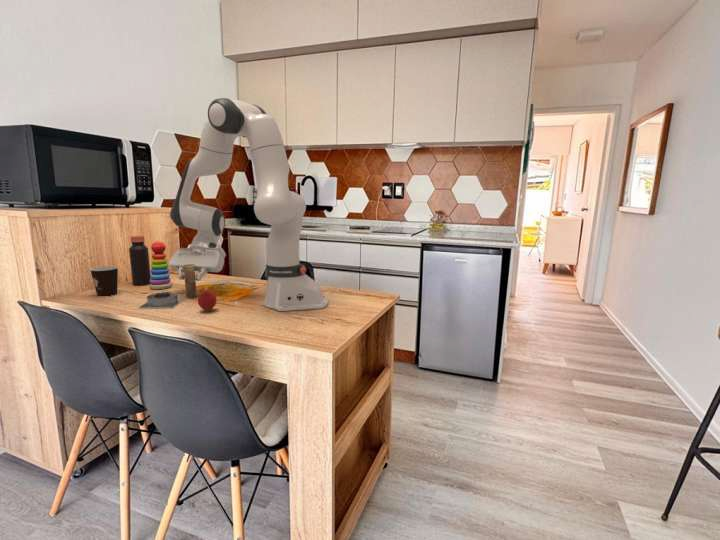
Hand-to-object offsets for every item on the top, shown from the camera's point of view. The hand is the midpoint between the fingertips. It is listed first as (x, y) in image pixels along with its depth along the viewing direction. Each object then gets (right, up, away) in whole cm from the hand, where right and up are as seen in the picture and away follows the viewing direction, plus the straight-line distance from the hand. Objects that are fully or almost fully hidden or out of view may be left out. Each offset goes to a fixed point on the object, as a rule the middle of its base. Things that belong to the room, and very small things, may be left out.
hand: (189, 279), depth 144 cm
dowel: (0, -7, +2) cm, 7 cm away
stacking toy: (-18, -4, +15) cm, 24 cm away
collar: (-6, -8, -6) cm, 12 cm away
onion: (+12, -10, -14) cm, 21 cm away
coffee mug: (-33, -6, +5) cm, 34 cm away
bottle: (-28, -3, +21) cm, 35 cm away
